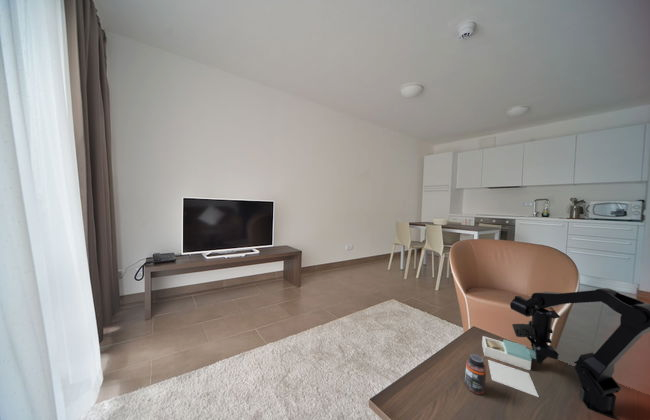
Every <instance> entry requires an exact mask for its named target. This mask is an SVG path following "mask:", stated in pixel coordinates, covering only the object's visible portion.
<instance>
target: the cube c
mask: <svg viewBox="0 0 650 420" xmlns="http://www.w3.org/2000/svg"><path fill="white" fill-rule="evenodd" d="M487 347H489V348H493V349H496V350H499V351H502V352H503V347H502V346H501V345H500V344H499V343H498V342H495V341H488V340H487Z"/></svg>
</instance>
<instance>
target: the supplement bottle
mask: <svg viewBox="0 0 650 420" xmlns="http://www.w3.org/2000/svg"><path fill="white" fill-rule="evenodd" d="M484 363H485V362H484V358H483V357H481V356H480V355H478V354H475V353H471V354H470V355H469V358H468V359H466V363H465V373H464V374H465V377H464V385H465V387H466V388H467V390H469V391H470V392H472V393H474V394H476V395H483V394H484V393H485V390H486V379H487V366H486V365H485V364H484Z"/></svg>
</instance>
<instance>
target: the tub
mask: <svg viewBox="0 0 650 420" xmlns="http://www.w3.org/2000/svg"><path fill="white" fill-rule="evenodd" d="M487 340H488V341H495V342H498V343H499V344H500V345H501V346H502V347H503V352H502V351H499V350H496V349H493V348H489V347H487ZM481 346H482V351H483V356H485V357H487V358H491V359H494V360H497V361H499V362H504V363H506V364H510V365H512V366H516V367H519V368H521V369H525V370H527V371H531V368H532V360H531V361H528V360H525V359H522V358H518V357H515V356H512V355H509V354H507V352H506V349H505V346H504V343H503V340H502V341H501V340H499V339H498V340H497V339H495V338H492V337H488V336H484V335H482V338H481Z"/></svg>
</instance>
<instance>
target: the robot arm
mask: <svg viewBox="0 0 650 420" xmlns="http://www.w3.org/2000/svg"><path fill="white" fill-rule="evenodd" d="M530 296H531V297H530V298H527V299H526V298H523V296H521V295H514V298H513V299H512V300H511V302H510V303H509V306H510V309H511V310H513V311H514V312H516V313H518V314H521V315H522V316H525V317H527V318H528V317H531V320H529V321H528V323H512V329H513V331H514V334H515V337H518V338H527V340H528V341H529V343H530V346H531V350H534V351H535V354H536V359H535V361H536V363H537V364H542V363H543V362H544V361H546V359H548V358H550V359H553V360H557V361H558V360H559V355H560V354H559V352H558V351H557V350H556V348H555V347H554V346H553V345H550V344H552V342H553V341H552V339H551V334H554V333H553V332H554V331H553V328H552V324H553V320H554V319H560V318H561V316H560V314H558V313H557V312H556V310H555V309H553V310H550V309H549V308H554V307H559V306H563V305H568V304H581V303H582V304H583V303H596V302H597V303H599V302H601V303H603V304H605V305H607V306H608V308H610V309H611V310H612V311H615V313H617V314H620V319H619V325H618V327H617V328H616V329H615V330H614V331H613V332H612V333H611V335H610V336H609V337H608V338H607V339H606V340H605V341H604V343H603V344H602V345H601V346H600V347H599V348H598V350H596V352H595V353H594V352H588V353H584V354H580V355H579V357H578V358H577V360H576V361H573V362H574V370H575V371H576V374H577V375H578V379H579V382H580V388H579V392H578V396H579V398H580V400H581V401H582V403H583V404H584V405H585V406H586V408H587V409H588V410H591V411H593V412H595V413H598V414H601V415H604V416H607V417H610V418H613V419H615V420H617V419H618V416H617V415H616V413H615V406H616V401H617V396H616V395H615V393H619V392H620V391H621V390H622V387H621V386H620V385H619V384H618V383H617V381H616V380H615V378H614V377H613V375H614V373H615V365H616V363H618V362H619V360H620V359H622V358H623V356H625V354H626V353H627V352H628V351H629V350H631V348H632V347H634V345H635V344H636V343H637V342H638V341H639V340H640V339H641V338H642V337H643V336H644V335H645V334H646V335H647V334H648V333H650V303H646V302H644V301H642V300H639V299H637V298H634V297H631V296H629V295H625V294H623V293H620V292H618V291H616V290H614V289H612V288H596V289H593V290H584V291H583V290H582V291H571V292H557V291H556V292H555V291H543V292H542V291H541V292H534V293H531V295H530Z"/></svg>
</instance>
